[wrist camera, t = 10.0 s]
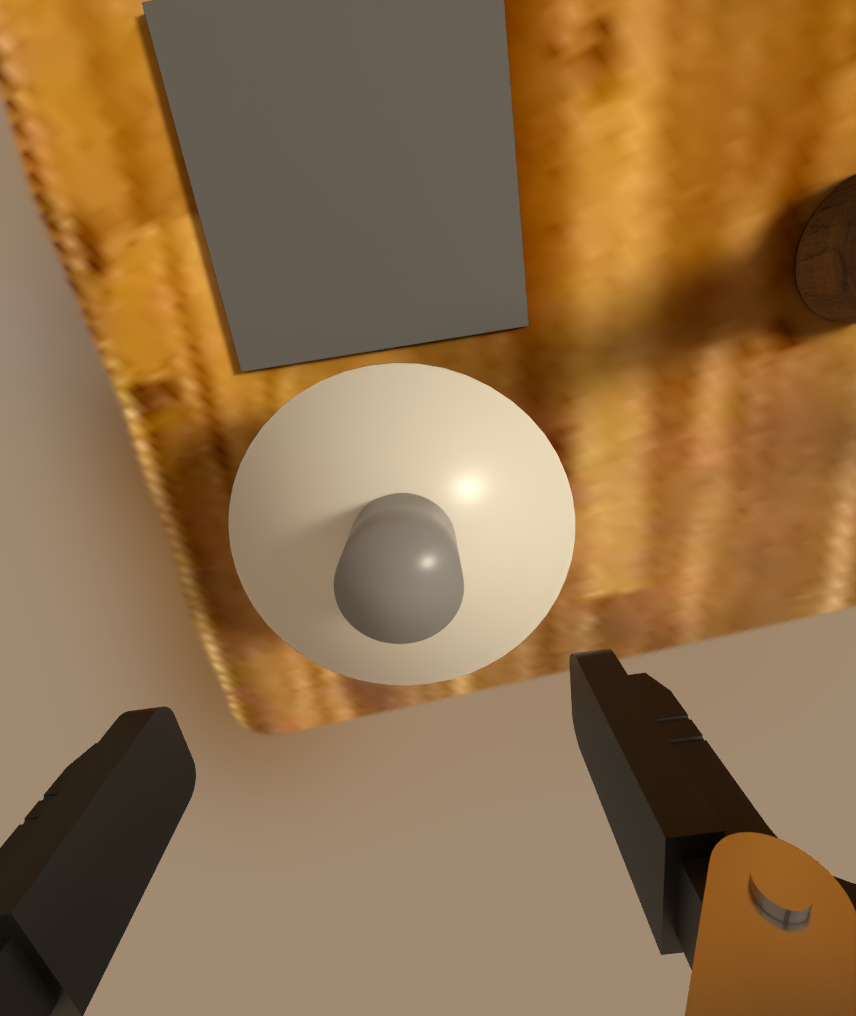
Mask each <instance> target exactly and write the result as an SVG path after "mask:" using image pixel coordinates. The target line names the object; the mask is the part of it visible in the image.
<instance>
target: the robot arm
mask: <svg viewBox="0 0 856 1016" xmlns="http://www.w3.org/2000/svg"><path fill="white" fill-rule="evenodd" d="M570 680H571V700H572V717H573V724H574V729H575V734H576V738H577V741H578V745H579V748H580V750H581V753H582V756H583V758H584V761H585V763H586V766H587V768H588V771H589V773H590V776H591V779H592V781H593V784H594V786H595V788H596V791H597V794H598V796H599V799H600V801H601V804H602V806H603V809H604V811H605V814H606V816H607V819H608V822H609V824H610V827H611V829H612V832H613V834H614V837H615V839H616V842H617V844H618V847H619V849H620V852H621V855H622V857H623V859H624V862H625V865H626V867H627V870H628V872H629V875H630V877H631V880H632V882H633V885H634V887H635V890H636V893H637V895H638V897H639V900H640V903H641V905H642V908H643V910H644V913H645V915H646V918H647V920H648V923H649V925H650V928H651V930H652V933H653V935H654V938H655V940H656V943H657V946H658V948H659V951H660V953H661V955H664V954H672V953H682V952H684V954H685V956H686V958H687V961H688V963H689V965H690V967H691V970H692V974H691V981H690V986H689V993H688V999H687V1005H686V1011H685V1016H856V884H854V883H850V882H847V881H845V880H842V879H839V878H837V877H835V876H832V875H831V874H830V873H829V871H828V870H826V869H825V868H824V867H823V866H822V865H821V864H820V863H819V862H818V861H816V860H815V859H814V858H812V857H811V856H809V855H808V854H807V853H805V852H804V851H802V850H800V849H799V848H797V847H795V846H794V845H792V844H790V843H788V842H785V841H783V840H781V839H779V838H778V837H777V836H776V835H775V834H774V833H773V832H772V831H771V829H770V828H769V827H768V826H767V825H766V823H765V822H764V820H763V819H762V817H761V816H760V815H759V813H758V812H757V811H756V809H755V808H754V807H753V805H752V803H751V802H750V801H749V799H748V798H747V797H746V795H745V794H744V792H743V791H742V790H741V788H740V787H739V785H738V784H737V783H736V781H735V780H734V778H733V777H732V776H731V774H730V773H729V771H728V770H727V769H726V767H725V766H724V765H723V763H722V762H721V760H720V759H719V758H718V756H717V755H716V753H715V752H714V751H713V749H712V748H711V746H710V745H709V744H708V742H707V741H706V740H705V741H704V739H703V737H702V734H701V733H700V731H699V730H698V728H697V727H696V726H695V724H694V723H693V721H692V720H689V718H688V715H687V713H686V712H685V710H684V709H683V708H682V706H681V705H680V703H679V702H678V701H677V699H676V698H675V696H674V695H673V694H672V692H671V691H670V690H669V689H667V688H666V687H664V686H663V685H662V684H660V683H659V682H657V681H656V680H655V679H653V678H652V677H650V676H649V675H648V674H646V673H641V674H633V675H627V673H626V671H625V670H624V668H623V667H622V665H621V663H620V662H619V660H618V659H617V657H616V655H615V654H614V652H613V651H612V650H610V649H603V650H596V651H588V652H580V653H573V654H571V655H570ZM195 779H196V770H195V764H194V761H193V758H192V756H191V753H190V751H189V749H188V746H187V744H186V741H185V739H184V737H183V735H182V732H181V729H180V727H179V725H178V722H177V720H176V717H175V715H174V713H173V711H172V710H171V709H170V708H168V707H158V708H149V709H143V710H134V711H128V712H125V713H123V714H122V715H120V716H119V717H118V719H117V720H116V721H115V722H114V723H113V725H112V726H111V727H110V729H109V730H108V731H107V732H106V734H105V735H104V736H103V737H102V739H101V740H100V741H99V742H98V743H96V744H94V745H93V746H92V747H91V748H89V749H88V750H87V751H86V752H85V753H83V754H82V755H81V756H80V757H79V758H78V759H76V760H75V761H74V762H73V763H71V764H70V765H69V766H68V767H67V768H66V769H65V770H64V771H63V773H62V774H61V775H60V776H59V777H58V778H57V780H56V781H55V782H54V783H53V784H52V786H51V787H50V788H49V789H48V791H47V792H46V793H45V794H44V799H43V800H41V801H39V802H38V803H37V804H36V805H35V806H34V808H33V809H32V810H31V811H30V812H29V814H28V815H27V816H26V817H25V822H24V824H22V825H19V826H18V827H17V828H16V829H15V831H14V832H13V833H12V834H11V836H10V837H9V838H8V839H7V840H6V842H5V843H4V844H3V845H2V847H1V848H0V1016H83V1015H84V1013H85V1011H86V1009H87V1007H88V1005H89V1002H90V1001H91V998H92V997H93V995H94V993H95V990H96V988H97V986H98V985H99V982H100V980H101V978H102V976H103V974H104V972H105V970H106V968H107V966H108V964H109V962H110V960H111V958H112V956H113V954H114V952H115V950H116V948H117V946H118V944H119V942H120V940H121V938H122V936H123V934H124V932H125V930H126V928H127V926H128V924H129V922H130V920H131V918H132V916H133V914H134V912H135V910H136V908H137V906H138V904H139V902H140V900H141V898H142V896H143V894H144V892H145V889H146V888H147V886H148V884H149V882H150V880H151V878H152V876H153V874H154V872H155V870H156V867H157V866H158V863H159V861H160V860H161V858H162V855H163V853H164V851H165V849H166V847H167V845H168V843H169V841H170V839H171V837H172V835H173V833H174V831H175V829H176V827H177V825H178V823H179V821H180V819H181V817H182V815H183V813H184V811H185V809H186V807H187V805H188V803H189V801H190V799H191V797H192V794H193V791H194V786H195Z"/></svg>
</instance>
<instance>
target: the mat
mask: <svg viewBox="0 0 856 1016" xmlns="http://www.w3.org/2000/svg"><path fill="white" fill-rule="evenodd" d="M142 5H143V9H144V13H145V17H146V20H147V24H148V28H149V31H150V35H151V39H152V42H153V46H154V50H155V54H156V57H157V61H158V65H159V68H160V72H161V76H162V79H163V83H164V87H165V90H166V94H167V98H168V102H169V105H170V109H171V113H172V116H173V120H174V124H175V127H176V131H177V135H178V139H179V142H180V146H181V150H182V153H183V157H184V161H185V164H186V168H187V172H188V176H189V179H190V183H191V187H192V190H193V194H194V198H195V201H196V205H197V209H198V212H199V216H200V220H201V224H202V227H203V231H204V235H205V238H206V242H207V246H208V249H209V253H210V257H211V261H212V264H213V268H214V272H215V275H216V279H217V283H218V286H219V290H220V294H221V298H222V301H223V305H224V309H225V312H226V316H227V320H228V323H229V327H230V331H231V334H232V338H233V342H234V346H235V349H236V353H237V357H238V360H239V364H240V368H241V371H242V372H245V371H251V370H257V369H263V368H270V367H276V366H282V365H288V364H294V363H301V362H307V361H313V360H319V359H326V358H332V357H338V356H344V355H350V354H357V353H363V352H369V351H375V350H381V349H388V348H394V347H400V346H406V345H413V344H419V343H425V342H431V341H437V340H444V339H450V338H456V337H462V336H468V335H475V334H481V333H487V332H493V331H500V330H506V329H512V328H518V327H524V326H529V324H528V311H527V298H526V284H525V271H524V258H523V245H522V232H521V219H520V206H519V193H518V180H517V167H516V153H515V140H514V127H513V114H512V101H511V88H510V75H509V62H508V49H507V36H506V22H505V9H504V0H152V1H147V2H142Z"/></svg>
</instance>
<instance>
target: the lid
mask: <svg viewBox="0 0 856 1016" xmlns="http://www.w3.org/2000/svg"><path fill="white" fill-rule="evenodd" d="M228 529H229V539H230V548H231V553H232V557H233V561H234V564H235V568H236V571H237V574H238V576H239V579H240V581H241V584H242V586H243V589H244V590H245V592H246V594H247V596H248V598H249V599H250V601H251V603H252V605H253V606H254V608H255V609H256V610H257V612H258V613H259V614H260V616H261V617H262V618H263V620H264V621H265V623H266V624H267V625H268V626H269V627H270V628H271V629H272V630H273V631H274V632H275V633H276V634H277V635H278V636H279V637H280V638H281V639H282V640H283V641H285V642H286V643H287V644H288V645H289V646H291V647H292V648H293V649H294V650H296V651H297V652H299V653H300V654H302V655H303V656H305V657H306V658H308V659H310V660H311V661H313V662H315V663H317V664H319V665H321V666H323V667H325V668H327V669H329V670H331V671H334V672H336V673H339V674H342V675H345V676H347V677H350V678H354V679H358V680H363V681H367V682H372V683H380V684H387V685H419V684H430V683H435V682H440V681H445V680H450V679H453V678H456V677H460V676H463V675H466V674H469V673H471V672H474V671H476V670H478V669H480V668H483V667H485V666H487V665H489V664H490V663H492V662H494V661H496V660H497V659H499V658H501V657H502V656H504V655H505V654H507V653H508V652H509V651H511V650H512V649H513V648H515V647H516V646H517V645H519V644H520V643H521V642H522V641H523V640H524V639H525V638H526V637H527V636H528V635H529V634H530V633H531V632H532V631H534V630H535V628H536V627H537V626H538V625H539V623H540V622H541V621H542V620H543V618H544V617H545V616H546V615H547V613H548V612H549V610H550V609H551V607H552V605H553V604H554V602H555V600H556V599H557V597H558V595H559V593H560V591H561V588H562V586H563V584H564V582H565V579H566V577H567V573H568V570H569V567H570V563H571V560H572V554H573V547H574V541H575V513H574V505H573V498H572V493H571V490H570V486H569V483H568V479H567V475H566V473H565V471H564V468H563V466H562V464H561V462H560V459H559V457H558V455H557V453H556V452H555V450H554V448H553V447H552V445H551V444H550V442H549V440H548V439H547V437H546V436H545V434H544V433H543V432H542V431H541V430H540V428H539V427H538V426H537V425H536V424H535V423H534V421H533V420H532V419H531V418H530V417H529V416H528V415H527V414H526V413H525V412H524V411H522V410H521V409H520V408H519V407H518V406H517V405H516V404H515V403H513V402H512V401H511V400H510V399H508V398H507V397H505V396H504V395H502V394H500V393H499V392H497V391H496V390H494V389H493V388H491V387H490V386H488V385H486V384H484V383H482V382H480V381H478V380H476V379H473V378H471V377H469V376H467V375H465V374H462V373H458V372H455V371H452V370H449V369H446V368H443V367H437V366H431V365H426V364H420V363H386V364H376V365H369V366H365V367H361V368H357V369H353V370H349V371H345V372H343V373H340V374H338V375H335V376H333V377H330V378H327V379H325V380H322V381H320V382H318V383H317V384H315V385H313V386H311V387H310V388H308V389H306V390H304V391H303V392H301V393H299V394H298V395H297V396H295V397H294V398H293V399H291V400H290V401H289V402H288V403H286V404H285V405H284V406H282V407H281V408H280V409H279V410H278V411H277V412H276V413H275V414H274V415H273V416H272V417H271V418H270V419H269V420H268V421H267V422H266V423H265V425H264V426H263V427H262V429H261V430H260V431H259V433H258V434H257V435H256V437H255V438H254V440H253V441H252V442H251V444H250V446H249V448H248V450H247V452H246V454H245V456H244V458H243V459H242V461H241V463H240V466H239V469H238V472H237V475H236V478H235V481H234V484H233V488H232V493H231V499H230V504H229V523H228Z"/></svg>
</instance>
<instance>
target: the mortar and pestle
mask: <svg viewBox="0 0 856 1016" xmlns="http://www.w3.org/2000/svg"><path fill="white" fill-rule="evenodd" d="M796 281H797V285H798V289H799V292H800V294H801V297H802V298H803V300H804V302H805V303H806V305H807V306H808V307H809V308H810V309H811V310H812V311H813V312H814V313H816V314H817V315H819V316H821V317H823V318H826V319H828V320H832V321H837V322H856V175H855V176H853V177H852V178H850V179H848V180H847V181H845V182H844V183H843V184H841V185H840V186H839V187H838V188H836V189H835V190H834V191H833V192H832V193H831V194H830V195H829V196H828V197H827V198H826V199H825V200H824V201H823V202H822V203H821V205H820V206H819V207H818V208H817V210H816V211H815V213H814V214H813V216H812V217H811V219H810V221H809V222H808V224H807V226H806V228H805V230H804V232H803V235H802V237H801V240H800V243H799V247H798V251H797V256H796Z"/></svg>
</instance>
